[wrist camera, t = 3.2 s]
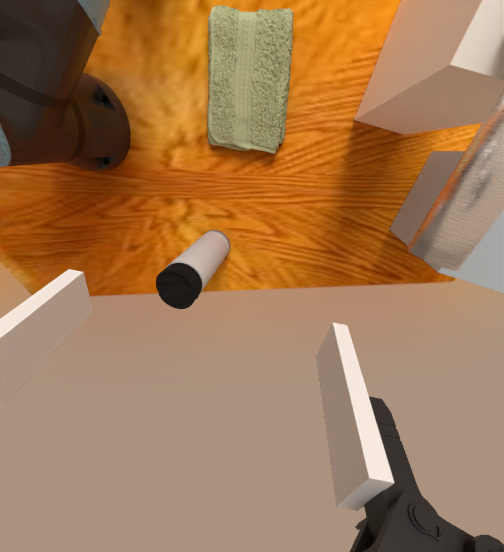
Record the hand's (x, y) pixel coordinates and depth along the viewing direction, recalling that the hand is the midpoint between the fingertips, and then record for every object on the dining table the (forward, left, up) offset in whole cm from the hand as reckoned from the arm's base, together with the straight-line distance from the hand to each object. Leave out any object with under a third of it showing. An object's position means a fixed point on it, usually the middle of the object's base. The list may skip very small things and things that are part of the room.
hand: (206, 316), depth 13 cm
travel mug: (-8, -12, -37) cm, 40 cm away
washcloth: (-9, +15, -38) cm, 41 cm away
